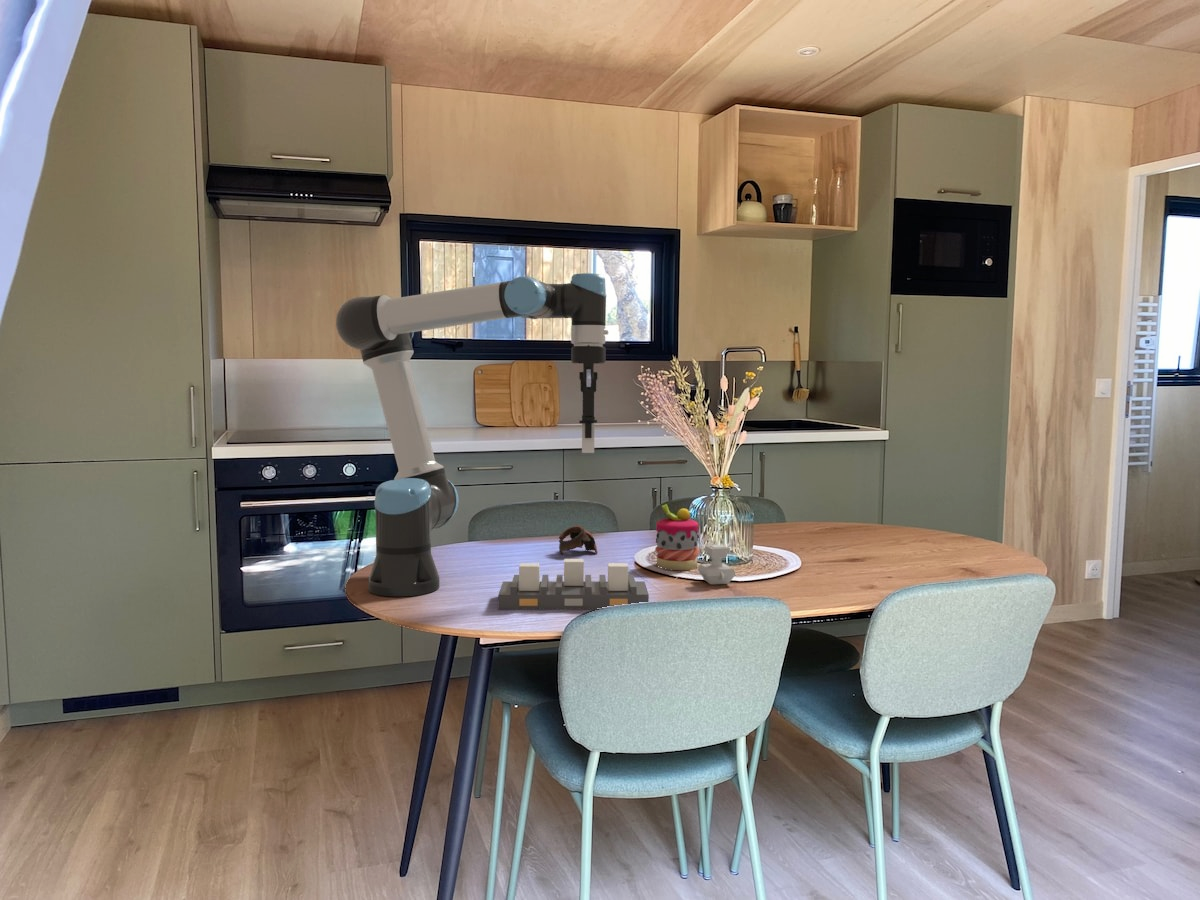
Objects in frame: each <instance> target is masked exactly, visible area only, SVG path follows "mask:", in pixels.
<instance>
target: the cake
mask: <svg viewBox="0 0 1200 900" xmlns="http://www.w3.org/2000/svg"><path fill="white" fill-rule="evenodd" d="M661 509H662V511H663V512H664V513H665V515H666V516H667V517H668V518H663V519H660V520H657V522H656V526H655V527H656V528H655V531H656V532H657V533H656V539H655V543H656V545H657V546H656V547H655V549H654V550H655V551H656V552H657V554H656V566H657V565H658V566H659V567H662V568H666V569H672V570H686V571H693V570H695V569H698V556H699V554H700V549H699V546H698V542H699V538H700V535H699V532H700V531H699V530H700V529H699V523H698V522H697V521H696V520H693V519H691V518H690V516H691V514H690V511H689V510H688V509H687V508H680V509H679V510H678V511H677V512H676V515H675V513H672V512H671V511H670V510H669V506H668V504H667V503H665V504H664V505H663V504H662V505H661ZM672 570H671V571H672Z"/></svg>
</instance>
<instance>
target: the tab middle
mask: <svg viewBox="0 0 1200 900" xmlns="http://www.w3.org/2000/svg"><path fill="white" fill-rule="evenodd" d="M563 562H564V563H563V567H564V568H563V577H564V578H563V579H564V580H563V581H564V586H583V585H584V579H585V575H584V574H585V573H584V569H585V568H584V566H585V565H584V562H585V561H584V558H564V559H563Z"/></svg>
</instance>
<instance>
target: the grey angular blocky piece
mask: <svg viewBox="0 0 1200 900" xmlns="http://www.w3.org/2000/svg"><path fill="white" fill-rule="evenodd" d="M704 548H705V549H704V552H705V553H706V555H707V556H708V557H709V558H711V562H710V563H701V564H699V566H697V570H698V572H699V574H700V575H701V576H702V578H703V580H704V581H705V582H707V583H708V584H709V585H712V586H716V585H728V584H730V582H732V580H733V579H734V577H735V576H736V572H735V569H734V568H733V567H731V566H729V565H728V564H726V563H724V562H723V559H725V558H727V557H728V555H729V554H730V547H729V546H726V545H725V544H713V545H705V547H704Z"/></svg>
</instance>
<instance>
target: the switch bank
mask: <svg viewBox="0 0 1200 900" xmlns="http://www.w3.org/2000/svg"><path fill="white" fill-rule="evenodd" d="M598 576H599V578H598V581H597V580H596V581H594V580H593V581H592V574H585V575H584V579H585V581H584V585H583V586H564V580H563V579H564V578H563V577H564V574H557V575H556V578H555V579H556V580H555V581H549V574H542V575H541V581H540V588H539V591H519V574H514V575H513V577H512V581H502V583H501V586H500V589H499V592H498V595H497V597H498V599H497V600H498V604H497V607H498V608H497V609H498V610H598V609H597V608H602V607H607V606H614V605H622V604H631V603H639V602H650V601H649V599H650V598H649V597H650V596H649V591H648V588H647V585H646V582H645V581H637V580H636V578H635V576H634V574H628V591H608V580H607V579H606V574H599V575H598ZM606 580H607V581H606Z"/></svg>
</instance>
